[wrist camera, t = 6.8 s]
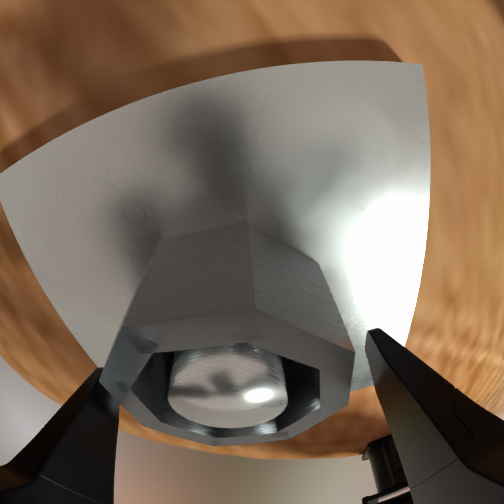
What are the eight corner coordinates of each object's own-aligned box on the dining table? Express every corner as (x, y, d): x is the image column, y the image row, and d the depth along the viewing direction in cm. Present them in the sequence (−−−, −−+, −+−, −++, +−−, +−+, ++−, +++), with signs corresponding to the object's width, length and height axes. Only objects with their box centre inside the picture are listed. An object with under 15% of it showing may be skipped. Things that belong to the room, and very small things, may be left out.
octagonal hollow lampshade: (323, 352, 12) (343, 427, 9) (177, 373, 12) (167, 446, 9) (313, 208, 9) (360, 286, 5) (110, 251, 9) (58, 332, 6)
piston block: (389, 365, 15) (416, 431, 11) (144, 402, 16) (133, 467, 12) (406, 65, 7) (515, 65, 3) (7, 171, 8) (-75, 223, 4)
